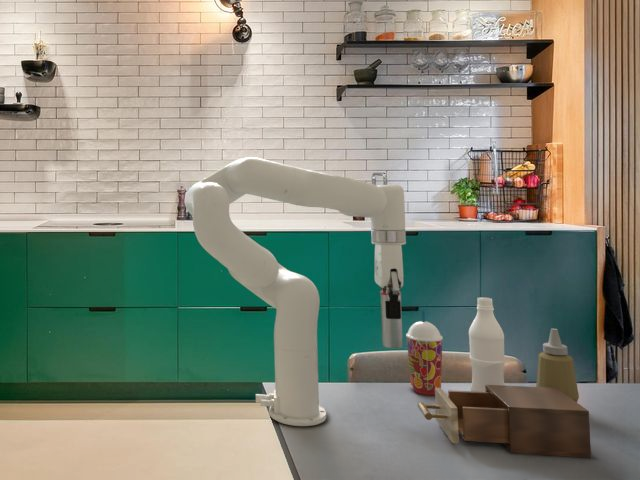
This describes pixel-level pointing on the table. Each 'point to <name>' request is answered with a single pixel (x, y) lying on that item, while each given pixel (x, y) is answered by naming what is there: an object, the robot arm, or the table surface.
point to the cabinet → (544, 421)
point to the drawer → (469, 416)
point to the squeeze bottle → (557, 367)
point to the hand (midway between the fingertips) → (391, 315)
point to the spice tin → (390, 326)
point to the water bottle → (486, 348)
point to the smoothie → (424, 356)
